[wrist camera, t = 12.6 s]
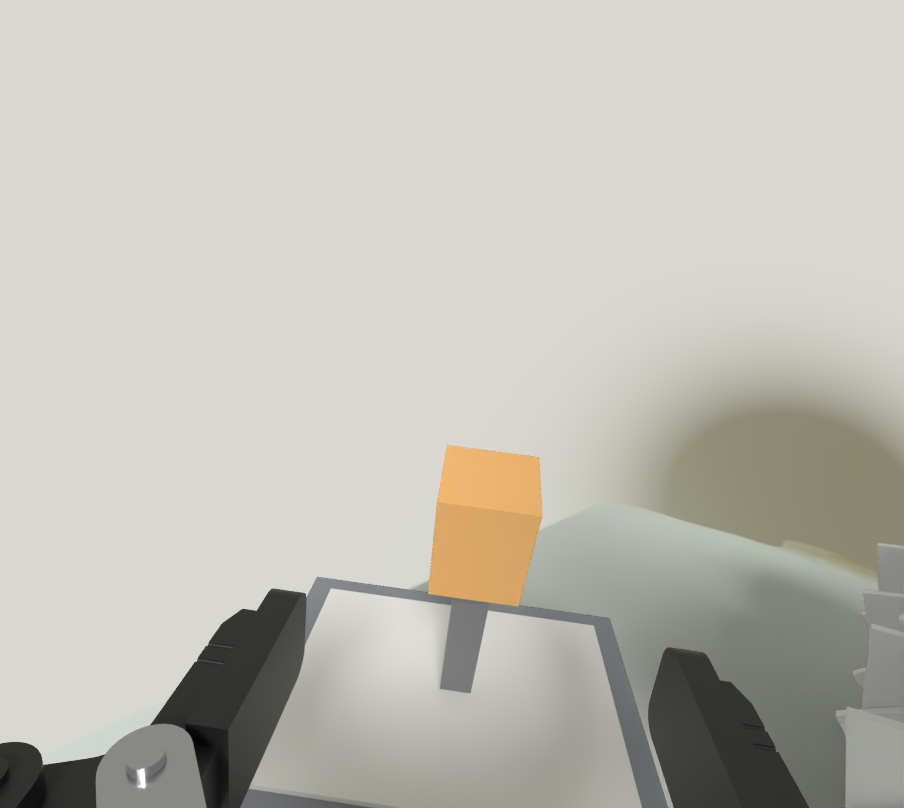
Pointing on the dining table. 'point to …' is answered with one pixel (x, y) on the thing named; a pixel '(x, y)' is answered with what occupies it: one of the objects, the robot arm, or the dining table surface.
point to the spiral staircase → (879, 695)
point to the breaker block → (454, 712)
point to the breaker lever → (481, 546)
